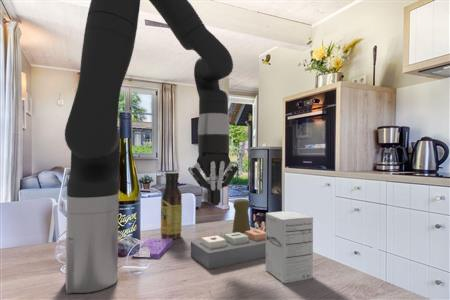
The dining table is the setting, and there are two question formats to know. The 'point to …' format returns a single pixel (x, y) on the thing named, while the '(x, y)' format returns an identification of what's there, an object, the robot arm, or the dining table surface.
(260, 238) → the terracotta key
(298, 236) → the supplement box
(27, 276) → the dining table surface
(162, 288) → the dining table surface
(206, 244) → the cream key
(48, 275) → the dining table surface
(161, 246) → the sponges
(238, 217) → the cork
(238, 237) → the sage key
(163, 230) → the sauce bottle
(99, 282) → the robot arm
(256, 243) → the keypad
